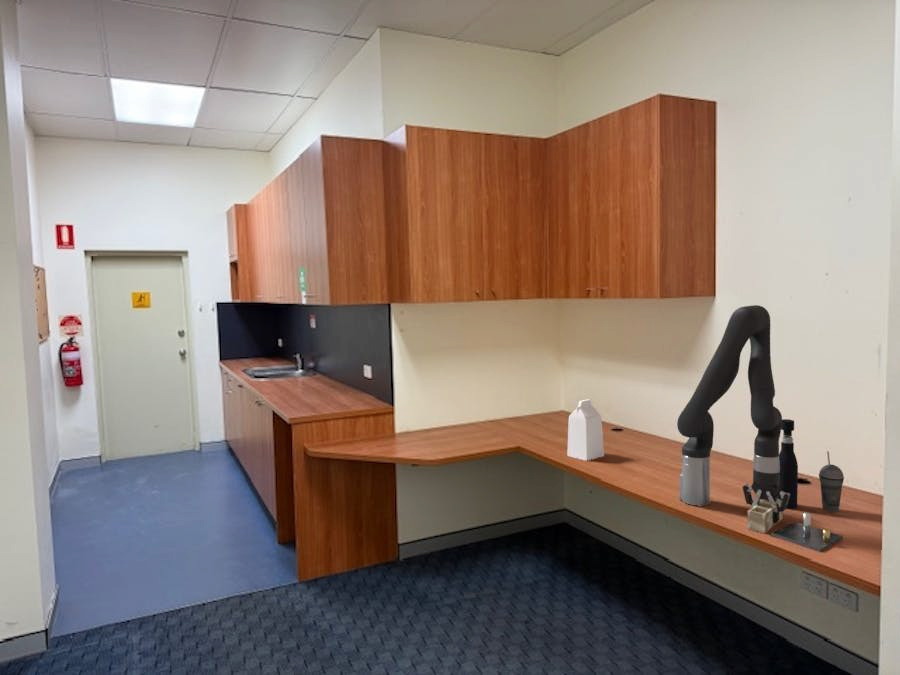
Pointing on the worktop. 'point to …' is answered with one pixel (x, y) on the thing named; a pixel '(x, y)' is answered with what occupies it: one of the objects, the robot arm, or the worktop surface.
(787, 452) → the wine bottle
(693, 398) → the robot arm
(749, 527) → the bar
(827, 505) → the grey tapered rounded cylinder
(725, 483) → the worktop surface
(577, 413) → the milk
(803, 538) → the mounting plate
